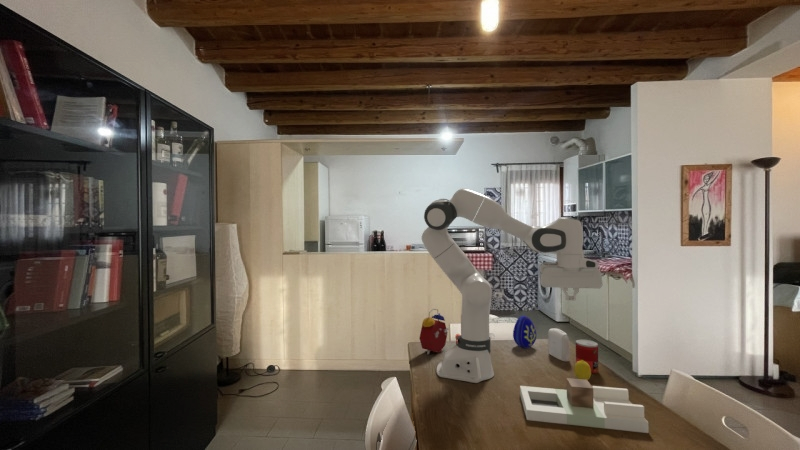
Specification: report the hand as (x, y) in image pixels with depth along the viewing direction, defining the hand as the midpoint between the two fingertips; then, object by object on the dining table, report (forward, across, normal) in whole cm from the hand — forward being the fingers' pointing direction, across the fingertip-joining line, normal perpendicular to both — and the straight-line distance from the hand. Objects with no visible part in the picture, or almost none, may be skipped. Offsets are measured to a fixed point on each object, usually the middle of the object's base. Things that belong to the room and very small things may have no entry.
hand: (570, 300), depth 123 cm
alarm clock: (+31, -52, +25) cm, 66 cm away
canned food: (+31, +10, +17) cm, 37 cm away
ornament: (+31, -11, +40) cm, 52 cm away
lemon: (+31, +5, +5) cm, 32 cm away
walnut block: (+28, -2, -18) cm, 34 cm away
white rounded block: (+31, +2, +29) cm, 43 cm away
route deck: (+31, -3, -18) cm, 36 cm away
